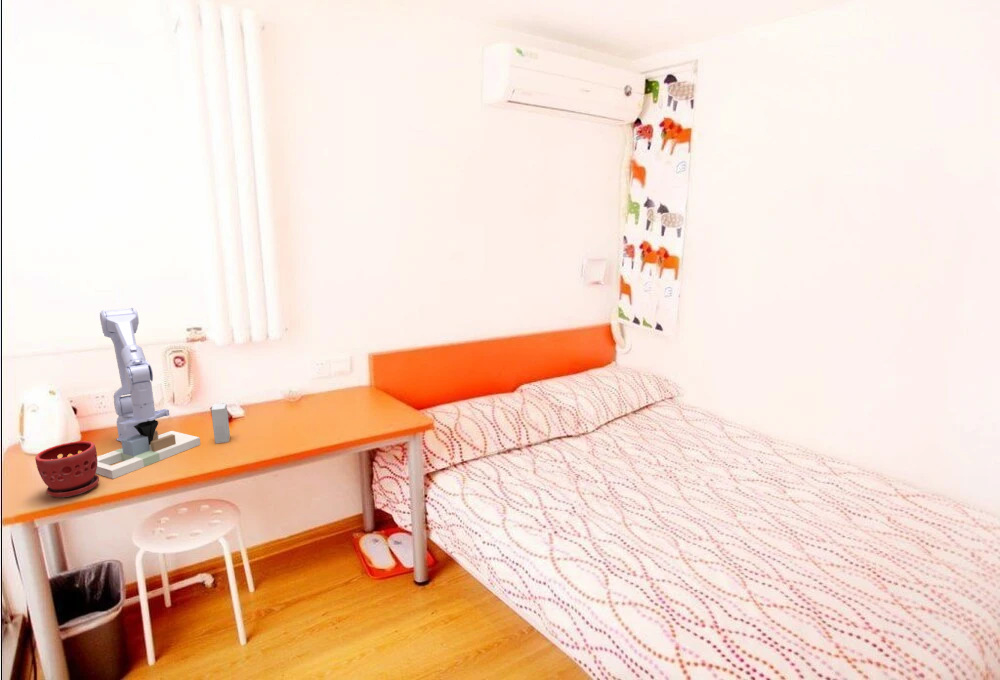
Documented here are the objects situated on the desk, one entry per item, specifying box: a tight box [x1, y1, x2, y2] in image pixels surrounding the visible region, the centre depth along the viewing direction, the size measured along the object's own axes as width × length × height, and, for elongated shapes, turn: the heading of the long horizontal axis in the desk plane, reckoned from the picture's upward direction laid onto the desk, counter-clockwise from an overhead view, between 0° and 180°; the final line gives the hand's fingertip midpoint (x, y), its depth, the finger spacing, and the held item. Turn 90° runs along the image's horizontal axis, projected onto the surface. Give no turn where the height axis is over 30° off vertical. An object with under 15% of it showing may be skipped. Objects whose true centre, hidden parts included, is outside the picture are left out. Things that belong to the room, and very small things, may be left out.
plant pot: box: [34, 440, 100, 498], centre depth 155 cm, size 13×13×12 cm
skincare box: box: [211, 402, 231, 444], centre depth 190 cm, size 6×4×12 cm
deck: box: [95, 429, 202, 480], centre depth 177 cm, size 14×28×6 cm, turn 155°
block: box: [120, 434, 150, 456], centre depth 175 cm, size 5×5×4 cm
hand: (148, 443), depth 179 cm, fingers closed
